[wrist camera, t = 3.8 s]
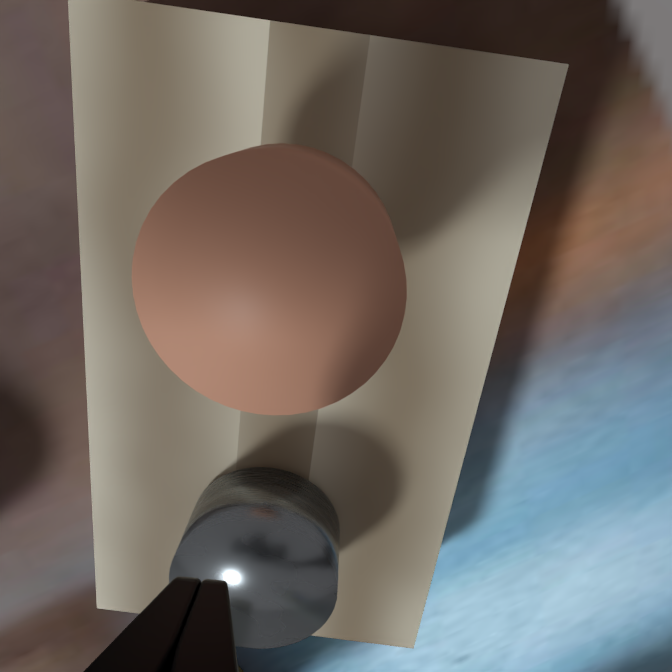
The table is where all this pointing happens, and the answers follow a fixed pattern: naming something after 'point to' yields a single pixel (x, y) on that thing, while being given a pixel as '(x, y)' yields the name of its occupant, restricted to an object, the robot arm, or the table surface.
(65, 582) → the table surface
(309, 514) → the metal plunger
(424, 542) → the plunger block
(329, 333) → the pink mushroom knob
